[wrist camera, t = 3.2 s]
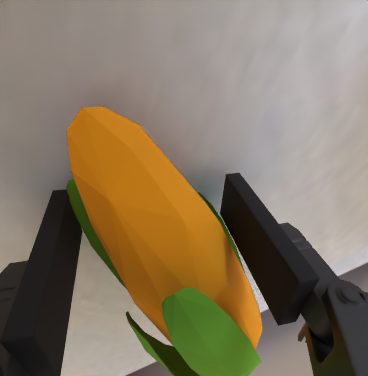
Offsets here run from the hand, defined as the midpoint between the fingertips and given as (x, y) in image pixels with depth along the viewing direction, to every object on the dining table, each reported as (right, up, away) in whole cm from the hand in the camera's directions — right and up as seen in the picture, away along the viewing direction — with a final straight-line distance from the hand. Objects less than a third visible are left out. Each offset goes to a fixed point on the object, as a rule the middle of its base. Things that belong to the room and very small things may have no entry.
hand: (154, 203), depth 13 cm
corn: (+1, -2, +4) cm, 4 cm away
